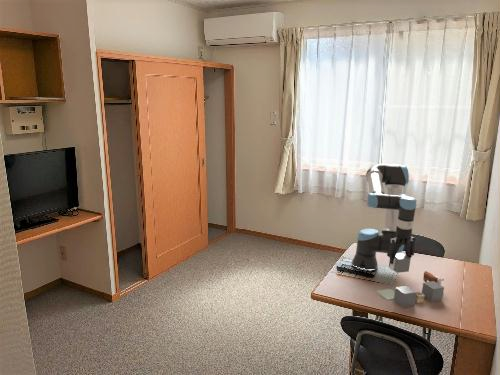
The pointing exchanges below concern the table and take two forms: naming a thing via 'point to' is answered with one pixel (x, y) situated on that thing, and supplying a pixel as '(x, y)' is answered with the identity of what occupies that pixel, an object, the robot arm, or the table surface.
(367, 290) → the table surface
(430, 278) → the bull figurine
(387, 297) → the mat
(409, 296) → the grey block
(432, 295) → the grey cube
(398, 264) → the grey box
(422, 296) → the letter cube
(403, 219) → the robot arm
